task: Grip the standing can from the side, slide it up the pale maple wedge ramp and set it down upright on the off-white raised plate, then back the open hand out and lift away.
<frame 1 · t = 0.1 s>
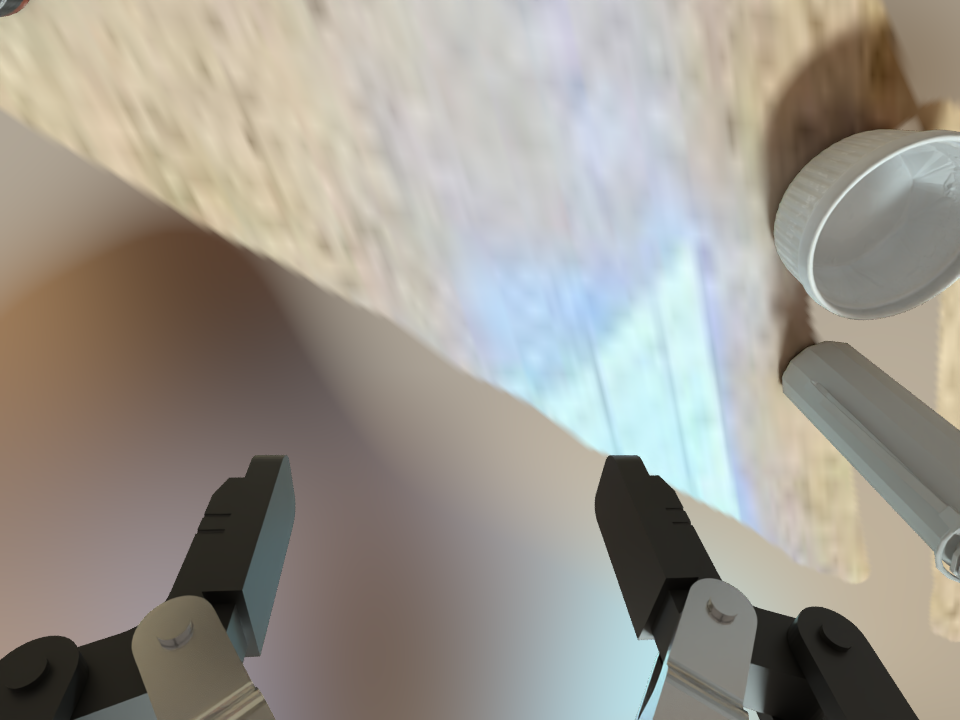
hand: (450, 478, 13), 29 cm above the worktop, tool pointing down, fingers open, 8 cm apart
ramekin: (838, 205, 42), on the worktop
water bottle: (806, 364, 50), on the worktop
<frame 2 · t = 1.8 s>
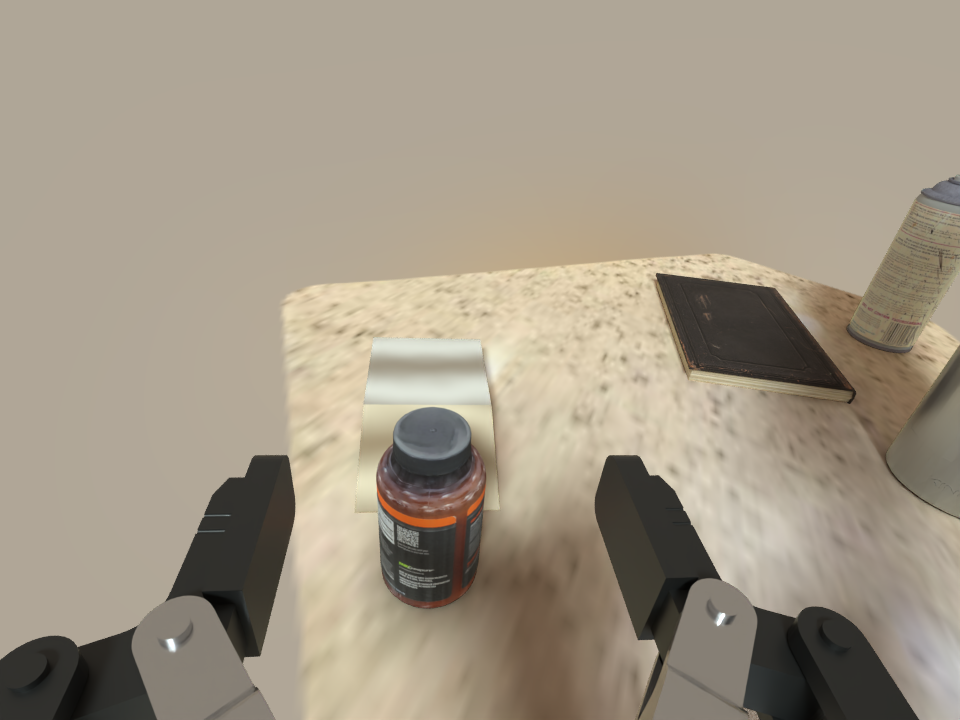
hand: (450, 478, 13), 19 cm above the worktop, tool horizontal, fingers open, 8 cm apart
ramp bench: (427, 425, 44), on the worktop
supplement bottle: (428, 569, 33), on the worktop
aerosol can: (877, 338, 64), on the worktop
hardcover book: (733, 340, 62), on the worktop
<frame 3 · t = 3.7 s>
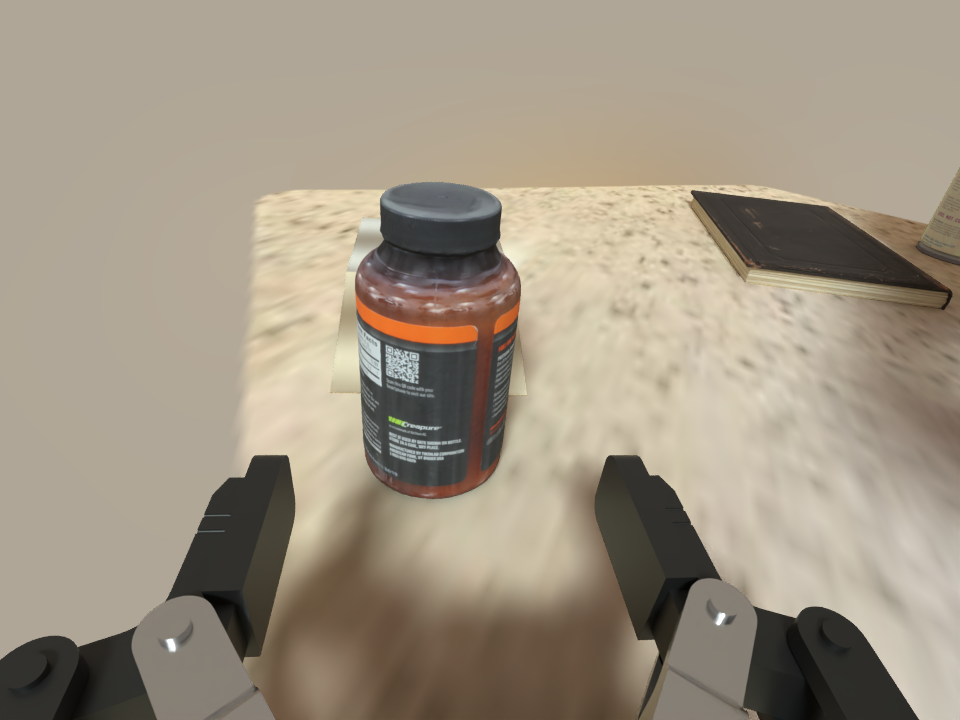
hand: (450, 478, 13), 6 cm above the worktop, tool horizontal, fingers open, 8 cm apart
ramp bench: (429, 311, 34), on the worktop
supplement bottle: (432, 457, 23), on the worktop
aerosol can: (953, 257, 55), on the worktop
hardcover book: (788, 254, 53), on the worktop
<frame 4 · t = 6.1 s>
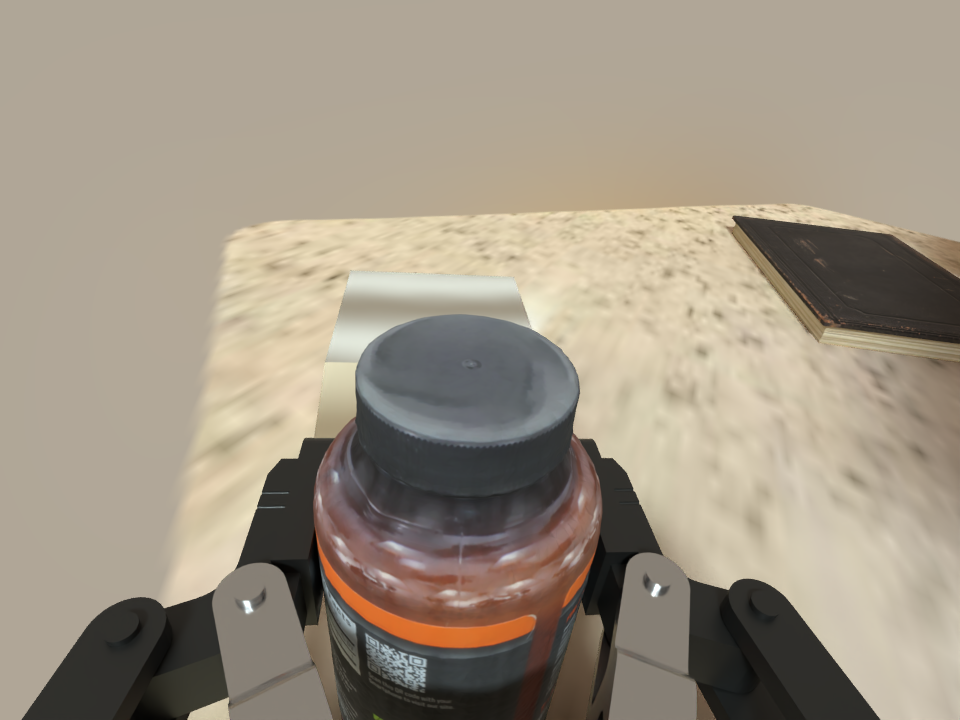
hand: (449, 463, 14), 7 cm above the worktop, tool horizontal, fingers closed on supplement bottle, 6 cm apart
ramp bench: (434, 402, 27), on the worktop
supplement bottle: (442, 689, 16), on the worktop, touching gripper
hardcover book: (854, 296, 45), on the worktop
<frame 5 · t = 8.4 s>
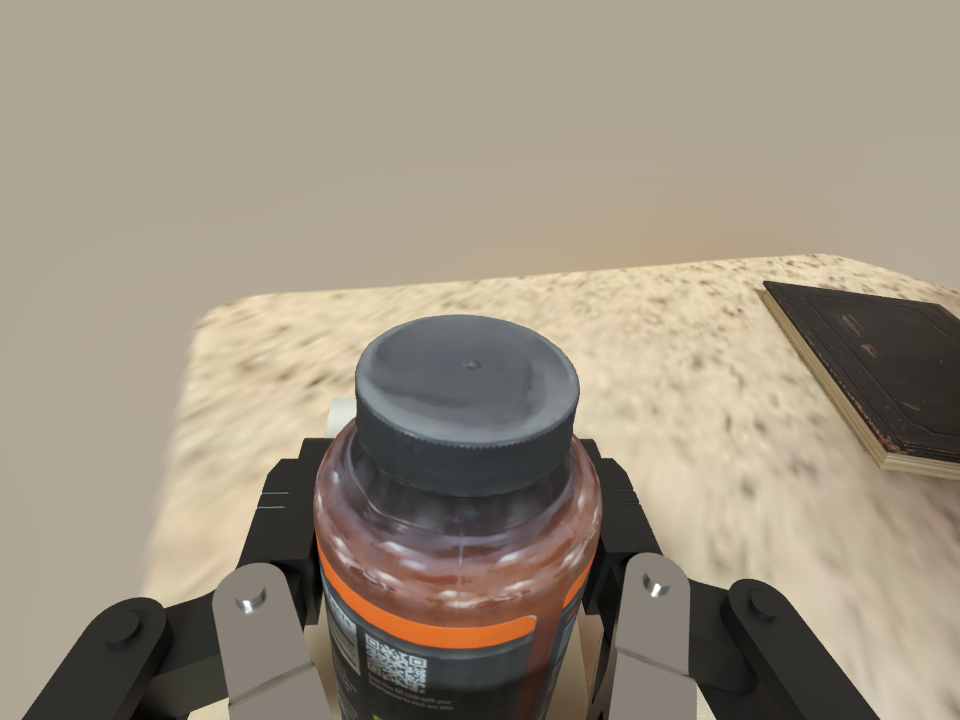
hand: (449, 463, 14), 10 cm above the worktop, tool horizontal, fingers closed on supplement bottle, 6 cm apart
ramp bench: (431, 593, 22), on the worktop
supplement bottle: (442, 689, 16), point 3 cm above the worktop, touching gripper
hardcover book: (906, 387, 40), on the worktop
when the fingers open (10 cm above the worktop, at t = 11.2 s): supplement bottle stays where it is, resting on ramp bench.
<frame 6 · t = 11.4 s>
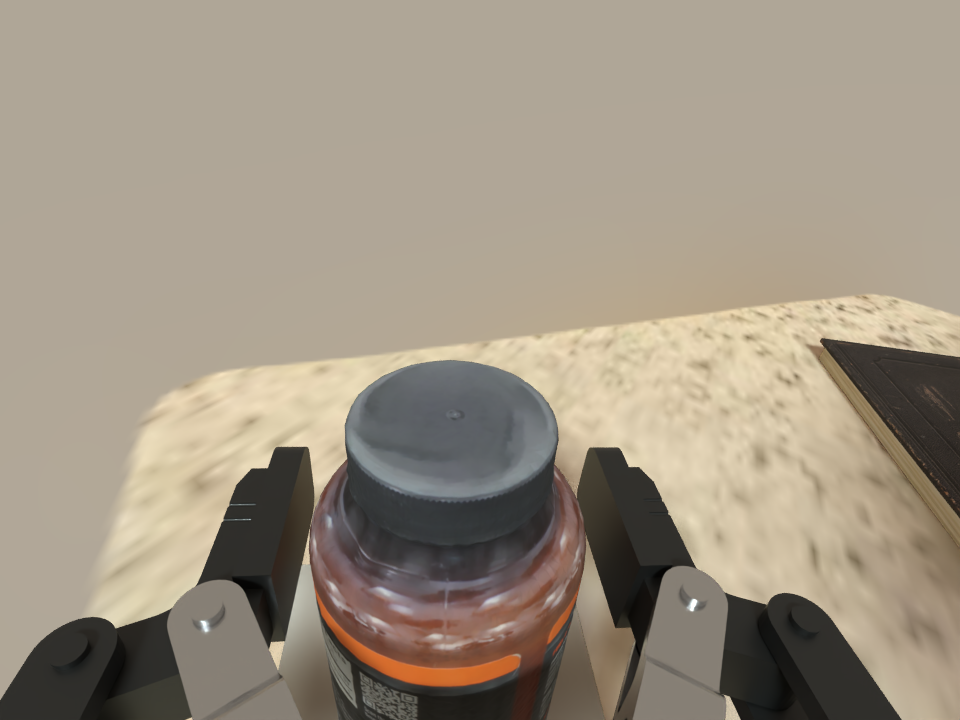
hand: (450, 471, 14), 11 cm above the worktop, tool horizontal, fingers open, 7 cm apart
supplement bottle: (442, 712, 16), point 3 cm above the worktop, touching ramp bench
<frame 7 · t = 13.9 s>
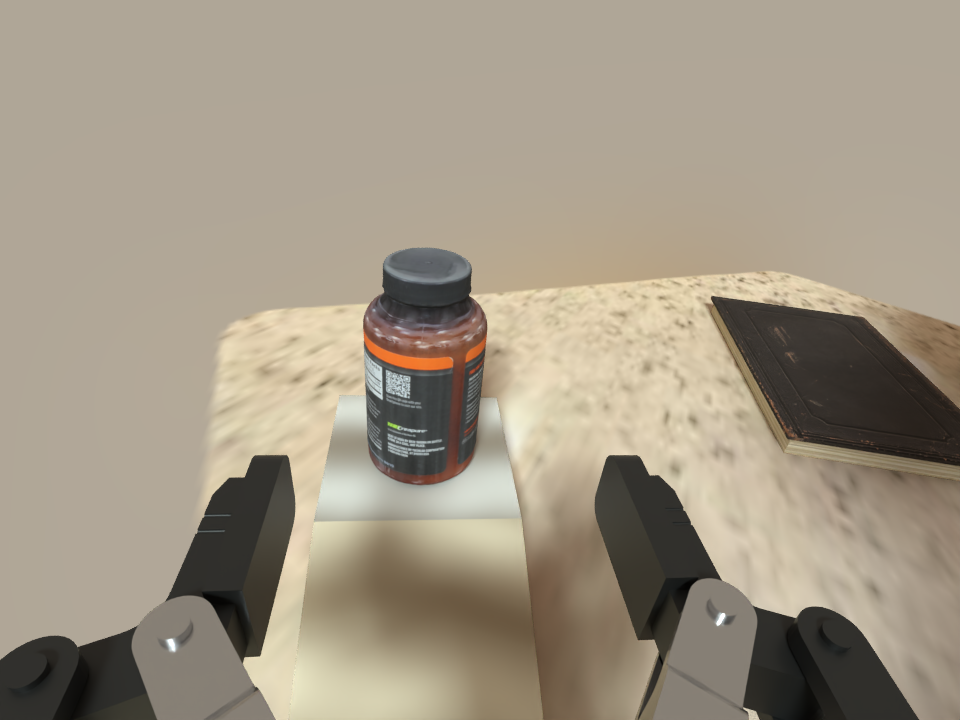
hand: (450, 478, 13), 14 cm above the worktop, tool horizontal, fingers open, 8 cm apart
ramp bench: (418, 543, 28), on the worktop
supplement bottle: (421, 454, 30), point 3 cm above the worktop, touching ramp bench
hardcover book: (824, 388, 47), on the worktop
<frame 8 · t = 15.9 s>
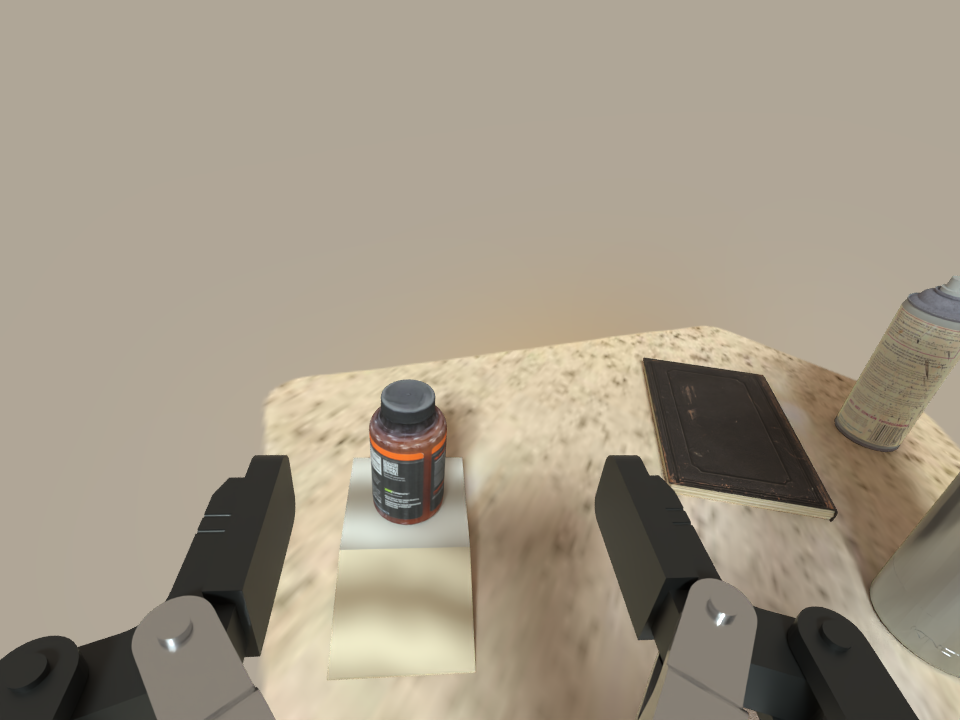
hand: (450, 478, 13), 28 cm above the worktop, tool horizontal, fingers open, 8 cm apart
ramp bench: (405, 561, 43), on the worktop
supplement bottle: (407, 501, 45), point 3 cm above the worktop, touching ramp bench
aerosol can: (865, 433, 64), on the worktop
hardcover book: (718, 437, 62), on the worktop
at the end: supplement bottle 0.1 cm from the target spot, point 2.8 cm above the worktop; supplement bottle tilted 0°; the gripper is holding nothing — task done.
